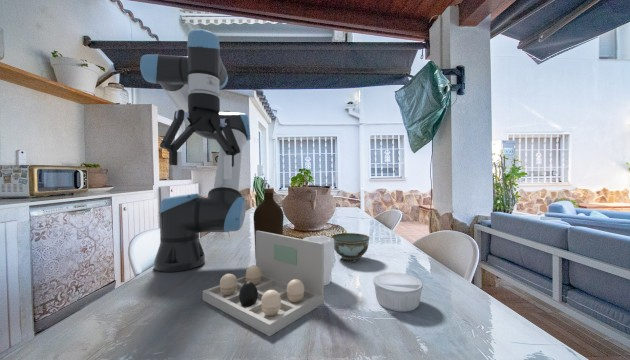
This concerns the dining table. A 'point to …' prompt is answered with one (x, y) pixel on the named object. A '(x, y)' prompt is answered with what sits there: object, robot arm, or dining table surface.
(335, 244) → the bowl
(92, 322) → the dining table surface
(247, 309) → the carton
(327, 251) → the cup
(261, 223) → the olive oil
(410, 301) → the ramekin
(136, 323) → the dining table surface
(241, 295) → the egg
